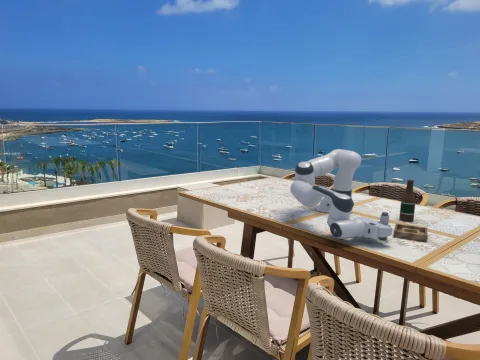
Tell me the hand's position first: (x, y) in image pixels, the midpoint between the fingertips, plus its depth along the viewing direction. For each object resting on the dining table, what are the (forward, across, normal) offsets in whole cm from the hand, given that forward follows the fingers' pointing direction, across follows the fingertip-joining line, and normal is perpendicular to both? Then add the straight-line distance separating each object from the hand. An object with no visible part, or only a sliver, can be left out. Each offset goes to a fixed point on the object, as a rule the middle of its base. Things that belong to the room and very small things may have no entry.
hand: (385, 224), depth 178 cm
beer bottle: (+37, -22, -7) cm, 44 cm away
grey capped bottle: (-1, 0, -7) cm, 7 cm away
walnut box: (+17, 0, -7) cm, 18 cm away
